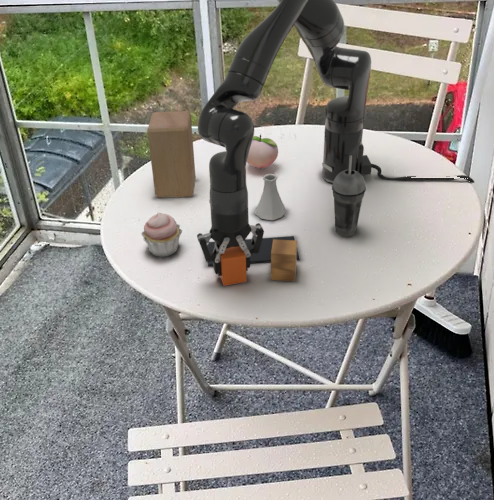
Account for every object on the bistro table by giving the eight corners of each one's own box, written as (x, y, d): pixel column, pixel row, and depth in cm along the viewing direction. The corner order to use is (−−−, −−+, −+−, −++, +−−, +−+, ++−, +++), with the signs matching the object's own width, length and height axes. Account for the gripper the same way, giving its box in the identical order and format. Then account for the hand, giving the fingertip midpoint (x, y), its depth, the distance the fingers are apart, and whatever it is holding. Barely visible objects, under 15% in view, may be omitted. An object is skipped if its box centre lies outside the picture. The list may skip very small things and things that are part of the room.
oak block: (296, 266, 141) (297, 240, 137) (294, 281, 137) (295, 254, 133) (273, 265, 142) (273, 239, 138) (271, 279, 138) (270, 253, 134)
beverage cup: (363, 224, 152) (370, 146, 140) (360, 242, 146) (367, 162, 135) (331, 220, 154) (336, 144, 143) (327, 238, 149) (331, 160, 137)
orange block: (240, 268, 143) (239, 241, 138) (246, 281, 139) (245, 255, 134) (218, 272, 142) (216, 245, 138) (223, 286, 138) (222, 259, 134)
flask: (249, 214, 159) (248, 179, 154) (267, 201, 163) (266, 166, 158) (273, 224, 155) (273, 188, 149) (291, 210, 159) (292, 174, 153)
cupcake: (156, 234, 156) (152, 198, 150) (190, 242, 152) (187, 206, 146) (135, 255, 150) (129, 218, 144) (170, 265, 146) (166, 228, 140)
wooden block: (196, 178, 176) (190, 109, 164) (193, 198, 168) (187, 126, 156) (159, 179, 177) (151, 110, 166) (154, 199, 169) (146, 128, 158)
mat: (293, 238, 150) (293, 235, 150) (299, 260, 143) (299, 257, 143) (206, 244, 151) (206, 242, 151) (208, 266, 144) (207, 264, 144)
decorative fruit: (239, 174, 176) (238, 140, 170) (248, 160, 182) (247, 127, 176) (273, 178, 172) (273, 144, 167) (281, 163, 178) (281, 130, 173)
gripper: (197, 219, 126) (202, 287, 136) (269, 207, 127) (269, 275, 137) (189, 199, 132) (195, 266, 142) (258, 188, 133) (259, 255, 143)
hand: (232, 270), depth 139 cm, fingers closed on orange block, 5 cm apart
